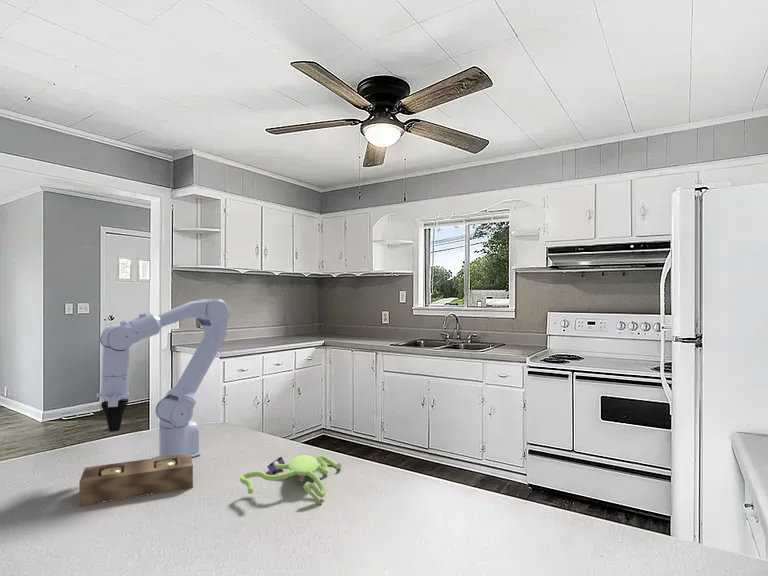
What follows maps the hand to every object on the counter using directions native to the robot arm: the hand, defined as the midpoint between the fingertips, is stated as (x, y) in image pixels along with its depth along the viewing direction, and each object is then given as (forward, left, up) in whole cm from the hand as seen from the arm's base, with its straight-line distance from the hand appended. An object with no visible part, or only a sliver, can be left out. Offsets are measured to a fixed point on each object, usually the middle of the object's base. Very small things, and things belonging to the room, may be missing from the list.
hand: (114, 430), depth 120 cm
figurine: (-20, +41, -11) cm, 47 cm away
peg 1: (+6, +11, -10) cm, 17 cm away
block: (+1, +14, -10) cm, 18 cm away
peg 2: (-3, +17, -10) cm, 20 cm away
